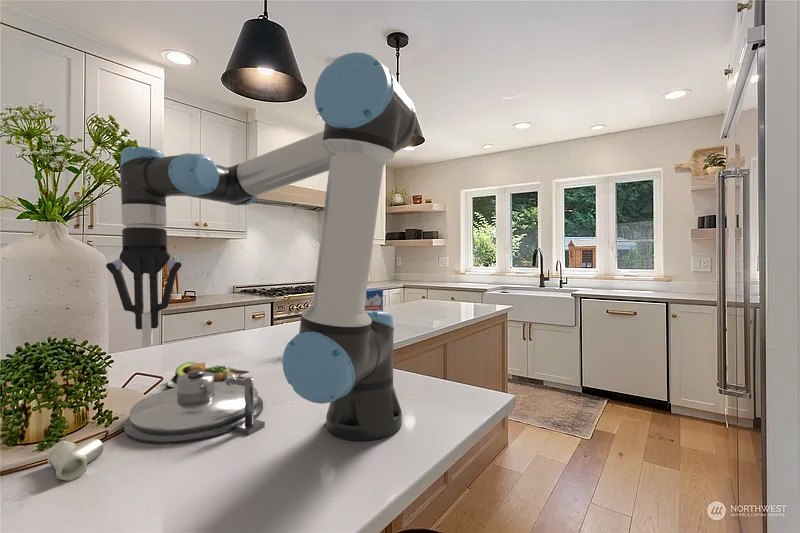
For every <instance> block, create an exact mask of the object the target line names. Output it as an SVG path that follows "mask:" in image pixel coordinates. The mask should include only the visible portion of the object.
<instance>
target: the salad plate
mask: <svg viewBox="0 0 800 533" xmlns="http://www.w3.org/2000/svg"><path fill="white" fill-rule="evenodd" d="M196 363H197V362H195V361H190V362H184V363H182V364H180V365H179V366H178V367H176V369H175V372H174V373H175V374H174V376H172V378H171V379H170V380H169V381H168V383H166V388H167V390H169V389H172V388H176V387H177V378H178V377H180V376H182V375H185V374H188V372H190V371H191V364H196ZM205 372H211V373H213V374H214V382H225V377H226V375H228V374H231V373H233V374H235V376H236V377H237V378H240V377H241V376H242V375H244V374H248V373H250V371H249V370H242V369H241V370H240V369H237V368H234V367H233V368H232V367H230V366H228V367H226V365H218V364H217V365H215V366H211V367H208V368H206V367H205Z"/></svg>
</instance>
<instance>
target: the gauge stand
mask: <svg viewBox="0 0 800 533" xmlns="http://www.w3.org/2000/svg"><path fill="white" fill-rule="evenodd" d="M225 382H226V384H227V385H228V386H233V385H235V384H236V385H241V386H245V421H243V422H241V423H239V424H237V425H235V426H234V431H233V432H236V433H239V434H244V435H248V436H250V435H252V434H254V433H255V432H258V431H259V429H260V430H261V429H264V428H265V427H266V424H265V423H266V422H265V421H264V420H262V421H261V420H258V419H254V394H253V387H254V377H252V376H251V377H250V376H248V377H245V378H241V377H238V378H237V377H236V376H235V374H233V373H231V374H228V375H226V377H225ZM263 427H264V428H263ZM257 430H258V431H257Z"/></svg>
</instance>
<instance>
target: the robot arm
mask: <svg viewBox="0 0 800 533" xmlns="http://www.w3.org/2000/svg"><path fill="white" fill-rule="evenodd" d="M313 96H314V105H315V108H316V110H317V112H318V114H319V117H320V118H321V120H322V121H324V128H323V130H322V131H320V132H318V133H314V134H311V135H310V136H307V137H305V138H301V139H299V140H297V141H294V142H292V143H289V144H287V145H284V146H282V147H279V148H275V149H273V150H272V151H269V152H266V153H264V154H261V155H259V156H256V157H253V158H251V159H250V158H249V159H247V160H245V161H243V162H240V163H237V164H234V165H232V166H229V167H226V166H222V165H219V164H216V163H215V161H213V160H212V159H211V158H210V157H209V156H208V155H205V154H203V153H191V152H189V153H188V152H186V153H180V154H177V155H171V156H169V155H168V156H165V154H164V153H163V152H162V151H161V150H158V149H156V148H152V147H145V146H128V147H127V146H126V147H124V148H123V149H122V150H121V152H120V165H119V173H120V175H119V176H120V192H121V193H120V196H121V197H120V198H121V205H120V206H121V207H120V208H121V225H123V226H125V228H123V229H122V230H121V234H122V236H121V237H122V238H121V239H122V242H121V243H122V250H121V252H120V254H119V257H118V258H117V259H115V260H113V261H111V262H107V263H106V265H105V266H106V269H107V270H108V271H109V272H110V273H111V275H112V278H113V280H114V283H115V287H116V288H117V292H118V295H119V298H120V300H121V301H120V302H121V304H122V308H123V310H124V311H125V312H131V313H134V317H135V319H134V321H135V324H134V325H135V329H136V330H138V331H139V330H141V334H142V335H141V336H142V338H141V339H142V341H141V342H142V344H141V345H142V347H152V345H153V344H154V340H153V338H154V336H153V335H154V334H153V330H154V329H157V328H158V327H159V325H160V324H159V312H160V311H163V310H166V309H167V308H168V306H169V303H170V300H171V296H172V292H173V288H174V284H175V280H176V277H177V273H178V272H179V270H180V268H181V267H183V266H182V265H183V263H182V262H181V261H178V260H175V259H173V258H172V257H171V254H170V253H169V251H168V234H167V233H168V232H167V231H168V230H166V229H165V228H164V227H166V226H167V201H166V200H167V198H168V197H181V196H182V197H191V198H194V199H195V198H197V199H203V200H208V201H215V202H218V203H219V202H220V203H225V204H229V205H232V206H249V205H251V204H253V203H254V201H255V200H256V199H257V198H258V197H259V195H262V194H265V193H268V192H271V191H274V190H277V189H280V188H282V187H286V186H289V185H292V184H295V183H298V182H300V181H303V180H305V179H308V178H312V177H314V176H318V175H322V174H323V173H326V172H328V176H327V184H326V192H325V200H324V209H323V218H322V223H321V224H322V225H321V231H320V240H319V246H318V248H319V249H318V255H317V264H316V271H315V280H314V287H313V288H314V289H313V295H312V302H311V303H310V305H309V306H308V307H306V308H305V309H303V310H302V311H301V316H300V324H299V332H298V333H297V334H296V335H295V336H294V337H293V338H292V339H291V340H290V341H289V342H288V343H287V345H286V346H285V348H284V351H283V355H282V370H283V374H284V377H285V380H286V381H287V383H288V384H289V385H290V386H291V388H292V389H293V391H294V392H295V393H296V394H297V395H298V396H300V397H301V398H302V399H303V400H306V401H308V402H311V403H313V404H320V405H321V404H329V405H328V406H329V407H328V409H327V412H326V429H327V431H328V432H329V433H330V434H332V435H333V436H335V437H337V438H341V439H344V440H349V441H350V440H351V441H370V440H371V441H372V440H373V441H374V440H377V439H382V438H383V439H384V438H386V437H388V436H391V435H393V434H395V433H396V432H398V431H399V430H400V429H401V427H402V424H403V414H402V408H401V405H400V402H399V399H398V395H397V393H396V389H395V386H394V331H395V327H394V320H393V319H394V317H393V314H391V313H390V312H388V311H385V310H383V311H365V308H364V306H365V298H366V291H367V289H368V285H369V283H368V282H369V276H370V268H371V260H372V254H373V247H374V246H373V245H374V244H373V243H374V238H375V232H376V231H375V230H376V224H377V223H376V222H377V216H378V209H379V202H380V193H381V186H382V178H383V173H384V172H383V171H384V166H385V165H386V163H388V162H390V161H391V160H392V159H394V158H395V153H397V152H399V151H400V150H401V149H403V148H404V147H405V146H406V145H407V144H408V143H409V142H410V140H411V139H412V136H413V135H414V133H415V130H416V124H417V113H416V108H415V106H414V102H413V101H412V99H411V98H410V96H409V95H408V94H407V93H406V92H405V91H404V90H403V88H402V86H401V85H400V84H399V82H398V81H397V80H396V78H395V77H394V76H393V73H392V72H391V71H390V69H389V68H388V66H386V65H384V64H383V63H382V62H381V61H380V60H379V59H377V57H375V56H373V55H371V54H368V53H364V52H359V51H357V52H355V51H354V52H348V53H346V54H343V55H340V56H338V57H337V58H335V59H333V61H332V63H330V64H329V65H327V66H326V67H325V68H324V69H323V70H322V72H321V74H320V75H319V77H318V79H317V82H316V85H315V88H314V95H313ZM126 181H127V182H126ZM126 183H127V184H126ZM167 263H168V265H167V269H168V270H169V273H168V276H167V279H166V283H165V288H164V291H163V294H162V295H163V296H162V299H161V302H160V303H159V272H161V270H162V269H163V268H164V267H165V265H166V264H167ZM123 264H124V266H126V268H127V269H128V270H129V271H130V272H131V273H132V274H133V288H134V304H133V302H132V300H131V294H130V293H129V290H128V289H129V288H128V286H127V283H126V281H125V277H124V274H123V272H122V270H123V269H124V267H123ZM144 274H148V280H149V305H150V306H149V311H145V310H144V309H145V308H144Z"/></svg>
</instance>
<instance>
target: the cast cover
mask: <svg viewBox="0 0 800 533" xmlns="http://www.w3.org/2000/svg"><path fill="white" fill-rule="evenodd" d="M213 399H214V374H213V373H211V372H204V371H203V370H194V371H190V372H188V374H185V375H182V376H180V377H178V378H177V404H178V405H181V406H196V405H201V404H205V403H208V402H210V401H212V400H213Z"/></svg>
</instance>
